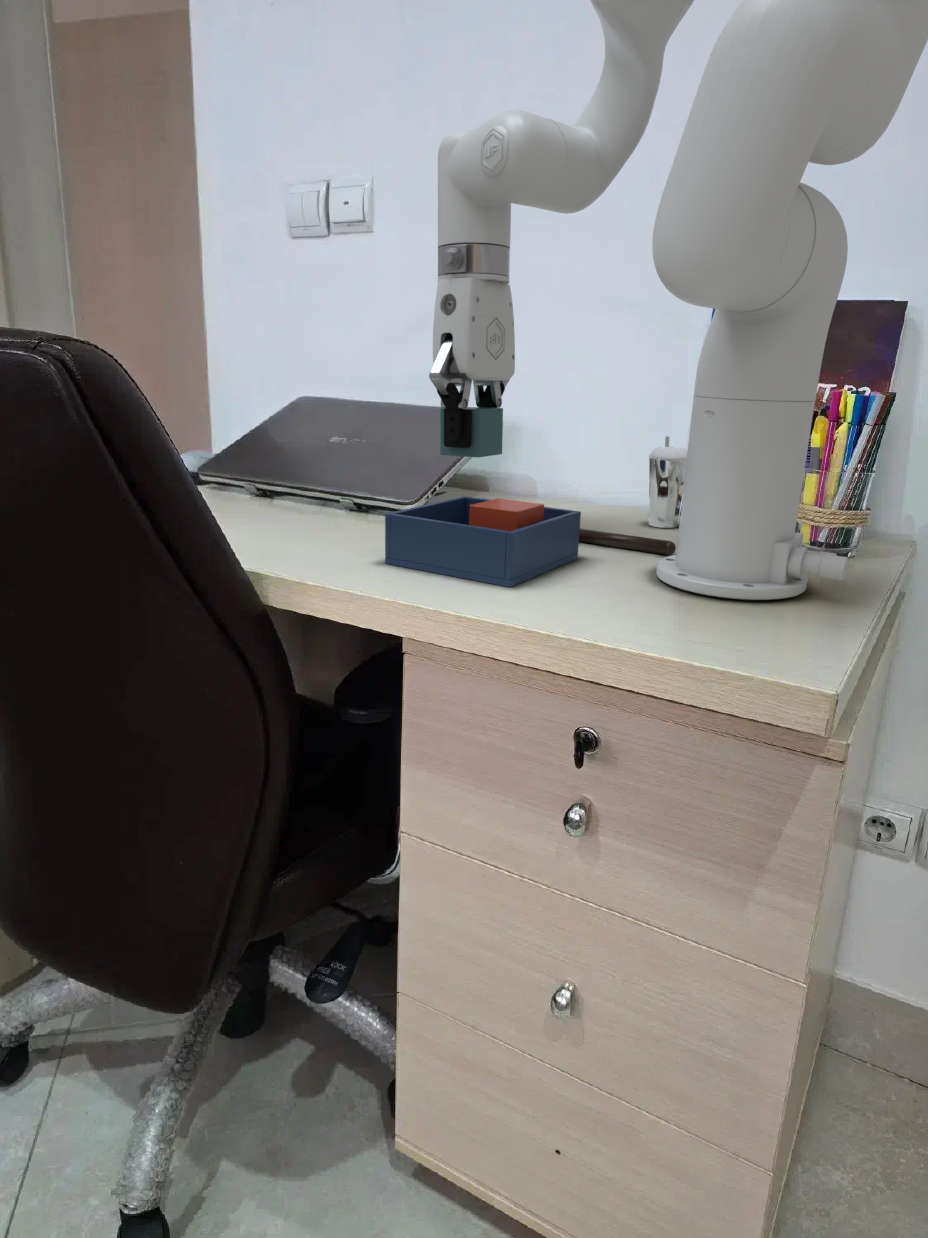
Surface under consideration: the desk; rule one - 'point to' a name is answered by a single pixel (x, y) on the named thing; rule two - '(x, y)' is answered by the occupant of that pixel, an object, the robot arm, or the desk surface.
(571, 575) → the desk surface
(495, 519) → the block red
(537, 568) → the basket
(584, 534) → the dark brown dowel rod
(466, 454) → the block teal
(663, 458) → the milkshake
